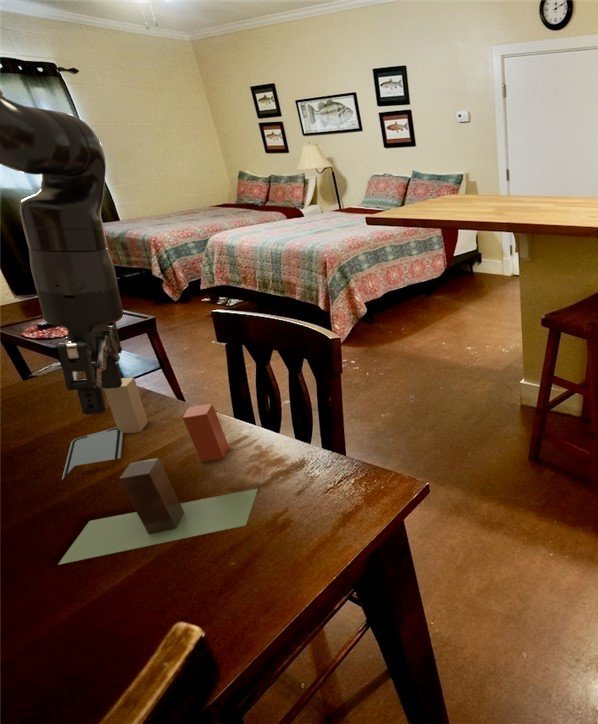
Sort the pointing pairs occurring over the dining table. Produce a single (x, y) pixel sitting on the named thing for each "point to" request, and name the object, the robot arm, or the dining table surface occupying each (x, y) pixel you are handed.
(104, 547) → the pale green strip
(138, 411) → the cream rectangular prism
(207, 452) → the tall red brick
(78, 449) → the smartphone
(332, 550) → the dining table surface
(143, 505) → the tall brown brick
